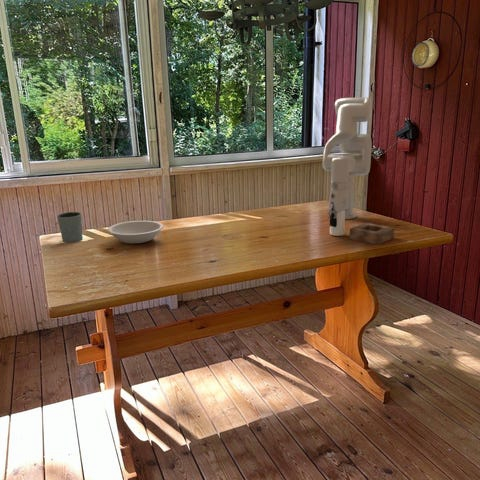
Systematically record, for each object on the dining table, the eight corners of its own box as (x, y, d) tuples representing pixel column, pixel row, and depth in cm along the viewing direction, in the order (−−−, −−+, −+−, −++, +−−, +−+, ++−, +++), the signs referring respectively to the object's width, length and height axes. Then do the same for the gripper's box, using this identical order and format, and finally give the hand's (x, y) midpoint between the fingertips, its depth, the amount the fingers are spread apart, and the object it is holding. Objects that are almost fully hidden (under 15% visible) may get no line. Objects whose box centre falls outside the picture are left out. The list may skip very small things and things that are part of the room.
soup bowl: (142, 252, 184) (141, 237, 182) (97, 246, 194) (95, 231, 192) (174, 237, 205) (173, 223, 203) (132, 232, 215) (131, 218, 213)
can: (343, 232, 207) (344, 206, 203) (345, 236, 201) (346, 210, 197) (329, 232, 208) (330, 206, 204) (330, 236, 202) (331, 210, 198)
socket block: (349, 238, 199) (349, 228, 197) (364, 231, 208) (365, 222, 207) (378, 244, 189) (379, 234, 188) (393, 237, 199) (394, 227, 198)
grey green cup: (85, 236, 208) (82, 211, 205) (83, 242, 199) (79, 216, 195) (62, 238, 206) (59, 212, 203) (58, 244, 197) (55, 217, 193)
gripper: (336, 189, 189) (334, 230, 195) (356, 183, 201) (354, 222, 207) (321, 187, 194) (319, 227, 199) (342, 181, 206) (340, 219, 211)
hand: (337, 224), depth 203 cm, fingers closed on can, 6 cm apart
